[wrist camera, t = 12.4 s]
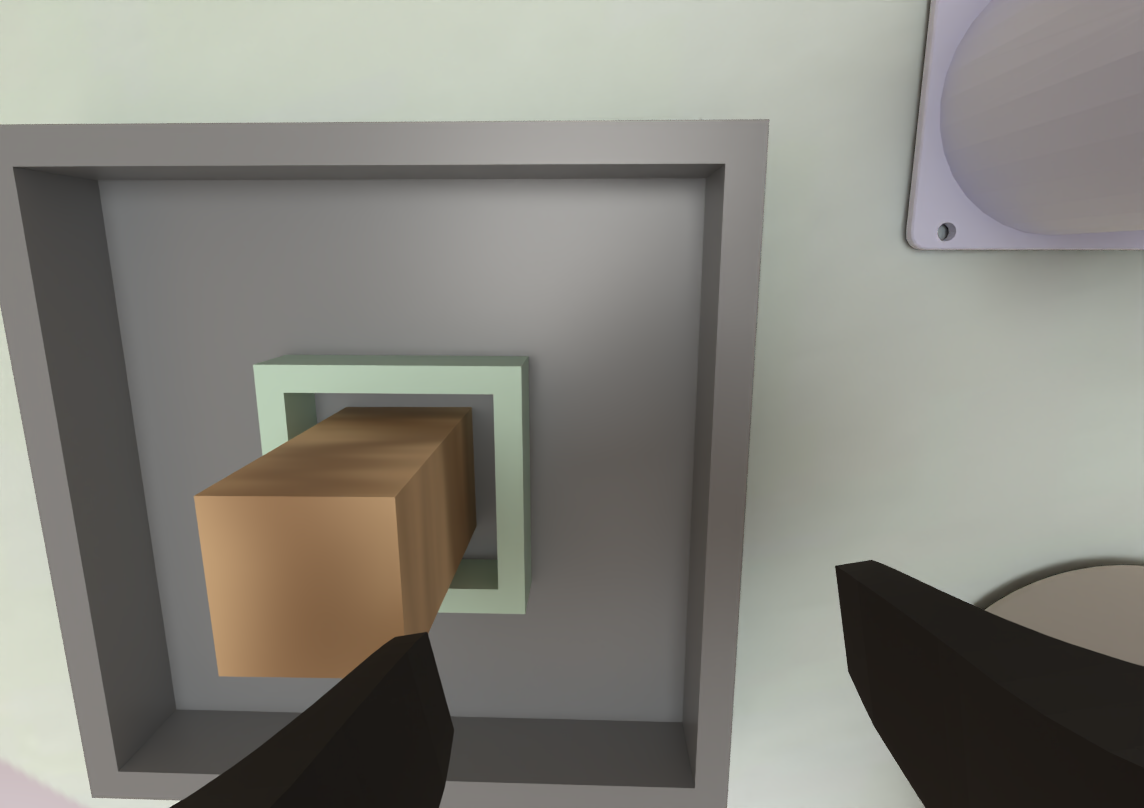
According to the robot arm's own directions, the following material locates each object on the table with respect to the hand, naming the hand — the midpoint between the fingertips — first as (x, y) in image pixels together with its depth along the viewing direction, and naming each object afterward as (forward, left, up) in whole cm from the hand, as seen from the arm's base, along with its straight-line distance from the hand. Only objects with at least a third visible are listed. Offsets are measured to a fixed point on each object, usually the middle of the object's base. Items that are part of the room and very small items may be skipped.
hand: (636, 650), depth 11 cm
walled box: (+7, 0, -10) cm, 12 cm away
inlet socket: (+7, 0, -10) cm, 12 cm away
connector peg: (+7, 0, -10) cm, 12 cm away
